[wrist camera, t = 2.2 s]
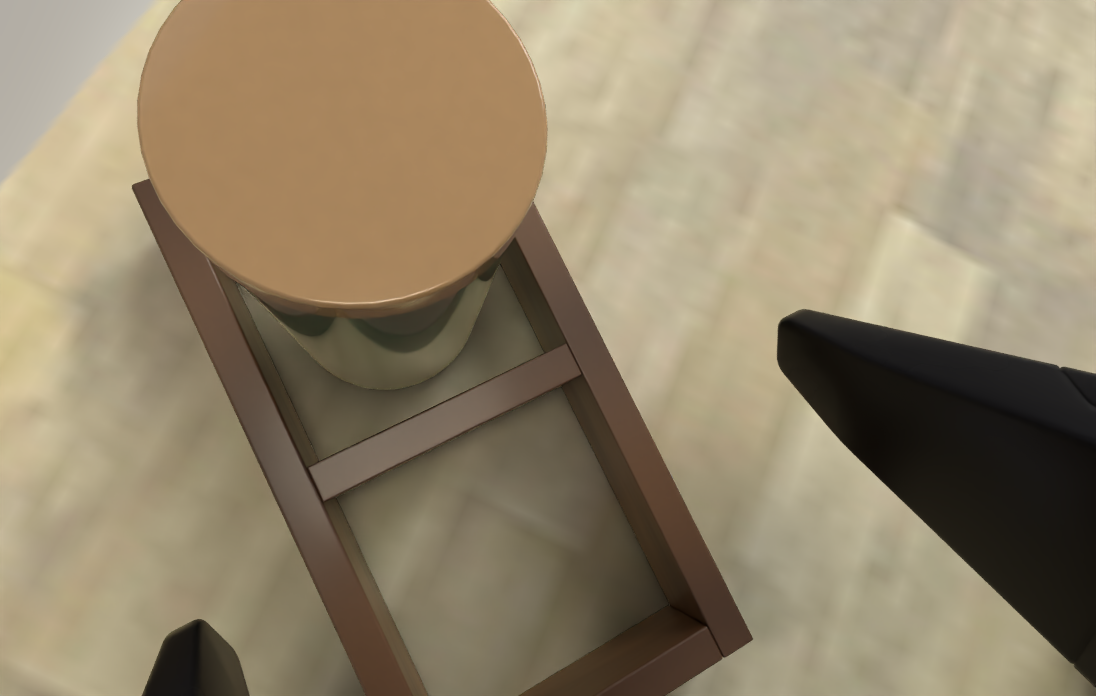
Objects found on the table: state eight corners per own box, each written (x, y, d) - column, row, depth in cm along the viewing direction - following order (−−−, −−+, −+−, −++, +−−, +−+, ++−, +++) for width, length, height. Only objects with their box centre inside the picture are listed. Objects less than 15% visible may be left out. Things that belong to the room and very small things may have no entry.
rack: (709, 617, 22) (754, 640, 19) (431, 789, 20) (433, 844, 17) (458, 114, 23) (464, 64, 20) (169, 222, 21) (129, 184, 18)
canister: (491, 380, 22) (575, 285, 10) (298, 406, 21) (151, 331, 9) (466, 204, 23) (518, -66, 11) (279, 220, 22) (120, -66, 10)
